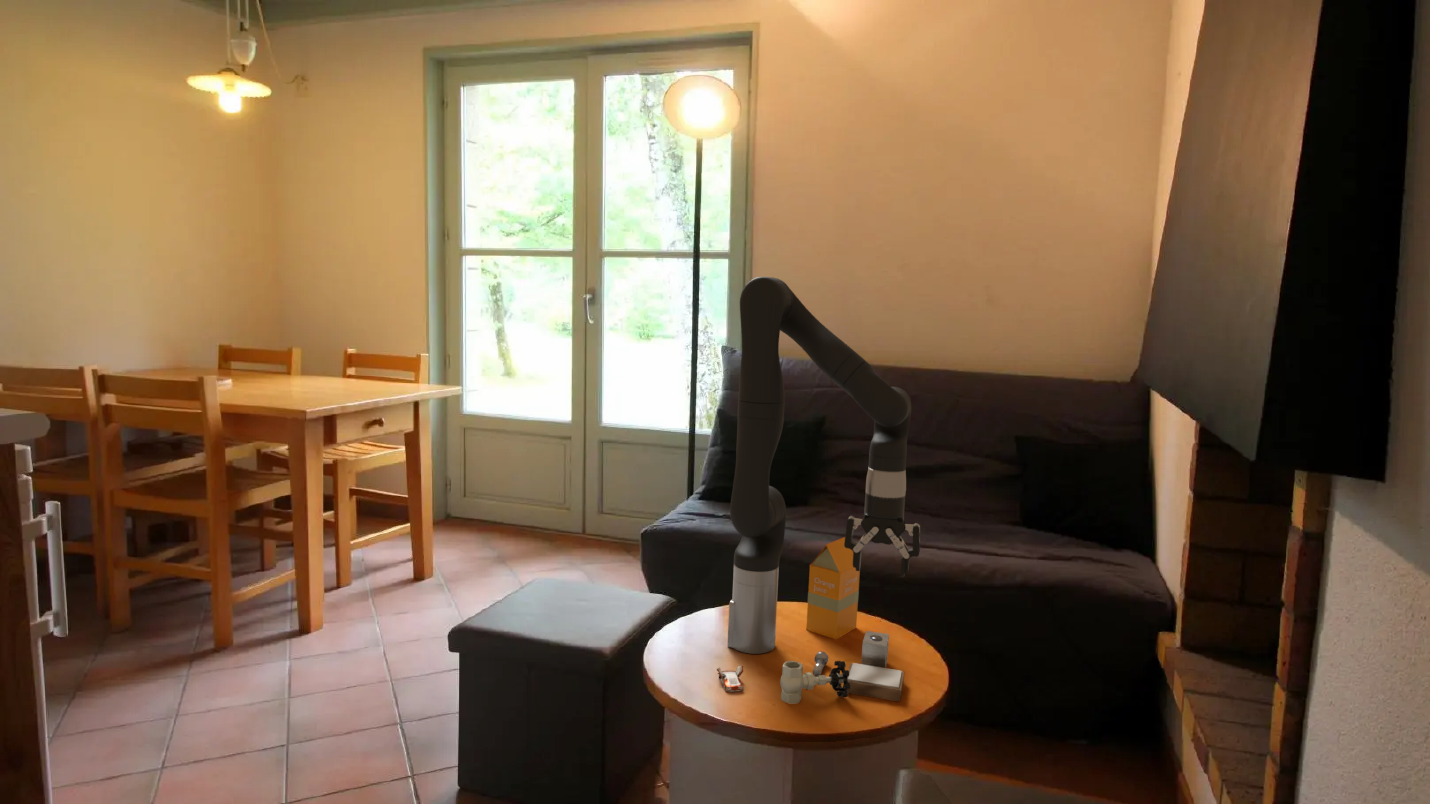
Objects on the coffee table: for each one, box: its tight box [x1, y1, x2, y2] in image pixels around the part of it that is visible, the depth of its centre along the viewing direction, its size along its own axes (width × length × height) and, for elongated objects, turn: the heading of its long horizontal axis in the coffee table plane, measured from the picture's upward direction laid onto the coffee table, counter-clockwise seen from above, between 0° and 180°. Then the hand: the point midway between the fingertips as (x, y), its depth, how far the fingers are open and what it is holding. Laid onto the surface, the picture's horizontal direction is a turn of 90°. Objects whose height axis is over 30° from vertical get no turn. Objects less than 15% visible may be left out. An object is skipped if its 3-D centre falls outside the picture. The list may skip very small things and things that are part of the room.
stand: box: [847, 662, 905, 702], centre depth 158 cm, size 10×8×2 cm
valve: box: [779, 660, 850, 705], centre depth 153 cm, size 7×7×12 cm
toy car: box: [716, 665, 744, 693], centre depth 158 cm, size 5×8×3 cm, turn 9°
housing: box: [860, 630, 890, 668], centre depth 167 cm, size 4×6×6 cm
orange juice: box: [805, 536, 861, 640], centre depth 184 cm, size 8×9×20 cm
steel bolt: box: [812, 650, 829, 677], centre depth 165 cm, size 6×3×3 cm, turn 163°
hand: (880, 572), depth 165 cm, fingers open, 8 cm apart
